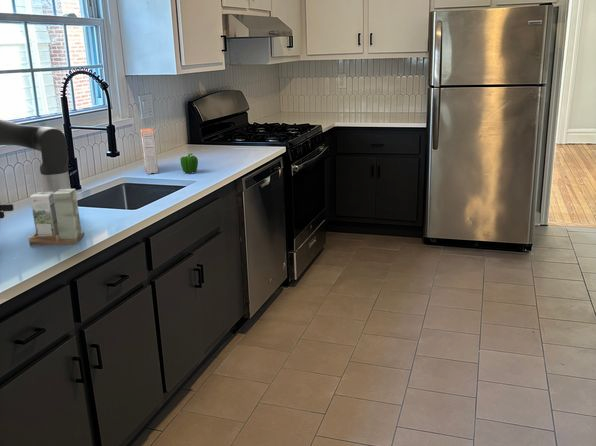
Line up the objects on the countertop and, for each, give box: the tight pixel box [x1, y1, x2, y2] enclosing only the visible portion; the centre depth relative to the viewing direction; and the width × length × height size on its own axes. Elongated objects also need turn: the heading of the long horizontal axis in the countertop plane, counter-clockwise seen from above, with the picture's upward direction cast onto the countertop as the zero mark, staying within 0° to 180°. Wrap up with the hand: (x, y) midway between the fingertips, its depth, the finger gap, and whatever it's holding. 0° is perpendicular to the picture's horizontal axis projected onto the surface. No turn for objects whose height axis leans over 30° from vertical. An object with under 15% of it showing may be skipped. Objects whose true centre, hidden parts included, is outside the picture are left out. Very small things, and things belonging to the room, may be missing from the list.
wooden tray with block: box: [28, 188, 85, 247], centre depth 187 cm, size 9×14×16 cm, turn 93°
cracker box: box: [140, 127, 159, 175], centre depth 289 cm, size 14×6×21 cm, turn 17°
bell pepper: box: [179, 152, 199, 174], centre depth 285 cm, size 8×8×10 cm
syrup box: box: [29, 191, 59, 237], centre depth 186 cm, size 6×6×14 cm
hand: (8, 210), depth 185 cm, fingers open, 8 cm apart
